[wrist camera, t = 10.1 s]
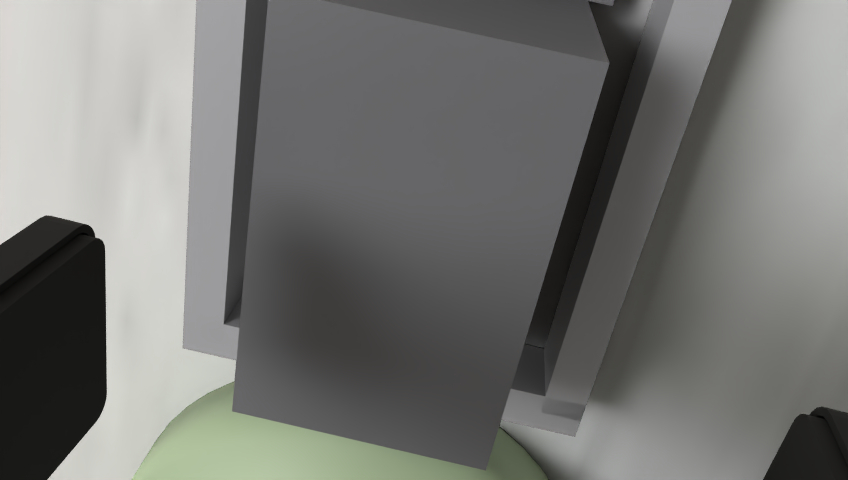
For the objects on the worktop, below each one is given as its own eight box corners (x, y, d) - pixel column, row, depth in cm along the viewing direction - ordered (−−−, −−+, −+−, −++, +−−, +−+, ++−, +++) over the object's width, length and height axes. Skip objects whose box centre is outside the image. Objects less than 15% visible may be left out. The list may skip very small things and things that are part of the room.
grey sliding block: (637, -105, 15) (692, -78, 10) (517, 309, 20) (511, 476, 15) (344, -168, 16) (246, -173, 10) (292, 258, 20) (207, 405, 15)
